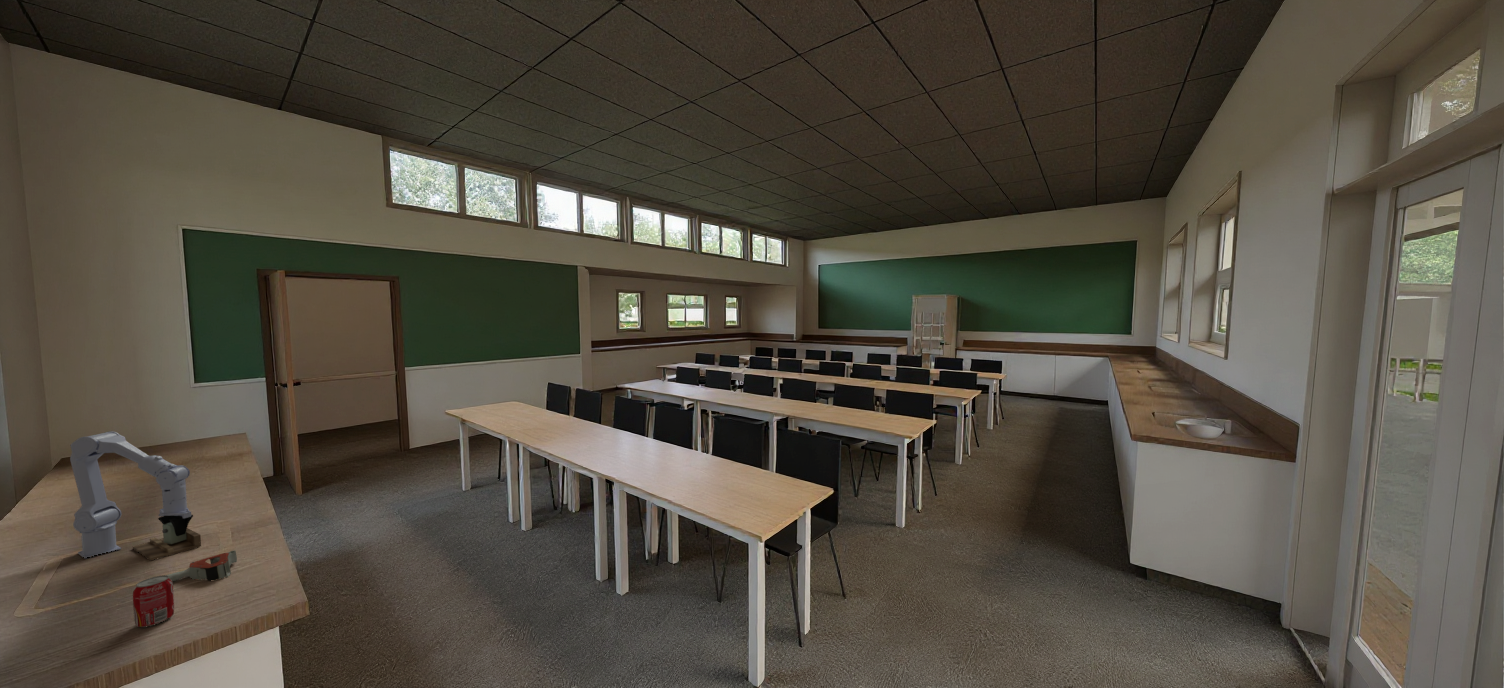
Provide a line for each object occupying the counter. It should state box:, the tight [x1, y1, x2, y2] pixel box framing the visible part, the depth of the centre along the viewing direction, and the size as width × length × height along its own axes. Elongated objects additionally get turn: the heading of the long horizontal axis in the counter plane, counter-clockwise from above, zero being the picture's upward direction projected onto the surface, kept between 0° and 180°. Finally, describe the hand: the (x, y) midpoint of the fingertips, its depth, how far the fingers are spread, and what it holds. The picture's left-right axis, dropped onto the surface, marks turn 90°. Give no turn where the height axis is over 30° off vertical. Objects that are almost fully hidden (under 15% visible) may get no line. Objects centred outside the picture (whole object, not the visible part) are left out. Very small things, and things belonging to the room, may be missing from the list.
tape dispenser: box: [166, 550, 238, 582], centre depth 157 cm, size 18×5×20 cm
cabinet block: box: [162, 522, 187, 544], centre depth 178 cm, size 4×5×7 cm
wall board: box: [132, 527, 202, 561], centre depth 177 cm, size 20×12×4 cm, turn 64°
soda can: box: [132, 574, 175, 628], centre depth 133 cm, size 7×7×12 cm
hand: (176, 534), depth 179 cm, fingers closed on cabinet block, 4 cm apart
